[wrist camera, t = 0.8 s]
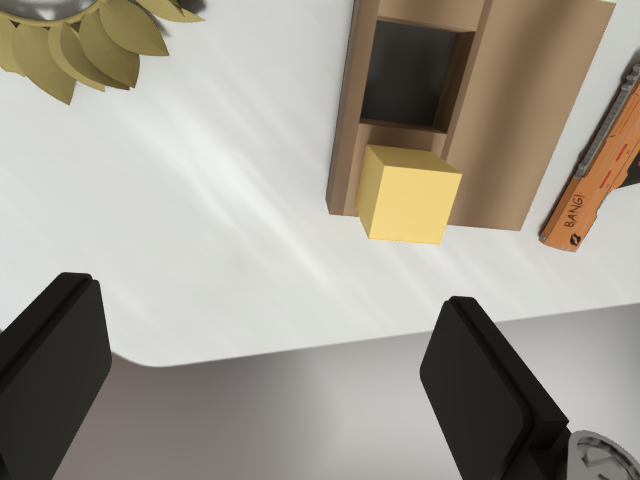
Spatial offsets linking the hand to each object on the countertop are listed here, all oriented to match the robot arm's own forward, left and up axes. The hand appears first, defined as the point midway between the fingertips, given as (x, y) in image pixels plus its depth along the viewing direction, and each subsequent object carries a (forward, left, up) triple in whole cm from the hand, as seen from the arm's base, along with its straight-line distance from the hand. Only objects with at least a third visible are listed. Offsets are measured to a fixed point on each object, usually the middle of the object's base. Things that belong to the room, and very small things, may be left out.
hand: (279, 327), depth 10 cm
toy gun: (-28, -2, -20) cm, 34 cm away
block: (-8, 0, -16) cm, 18 cm away
